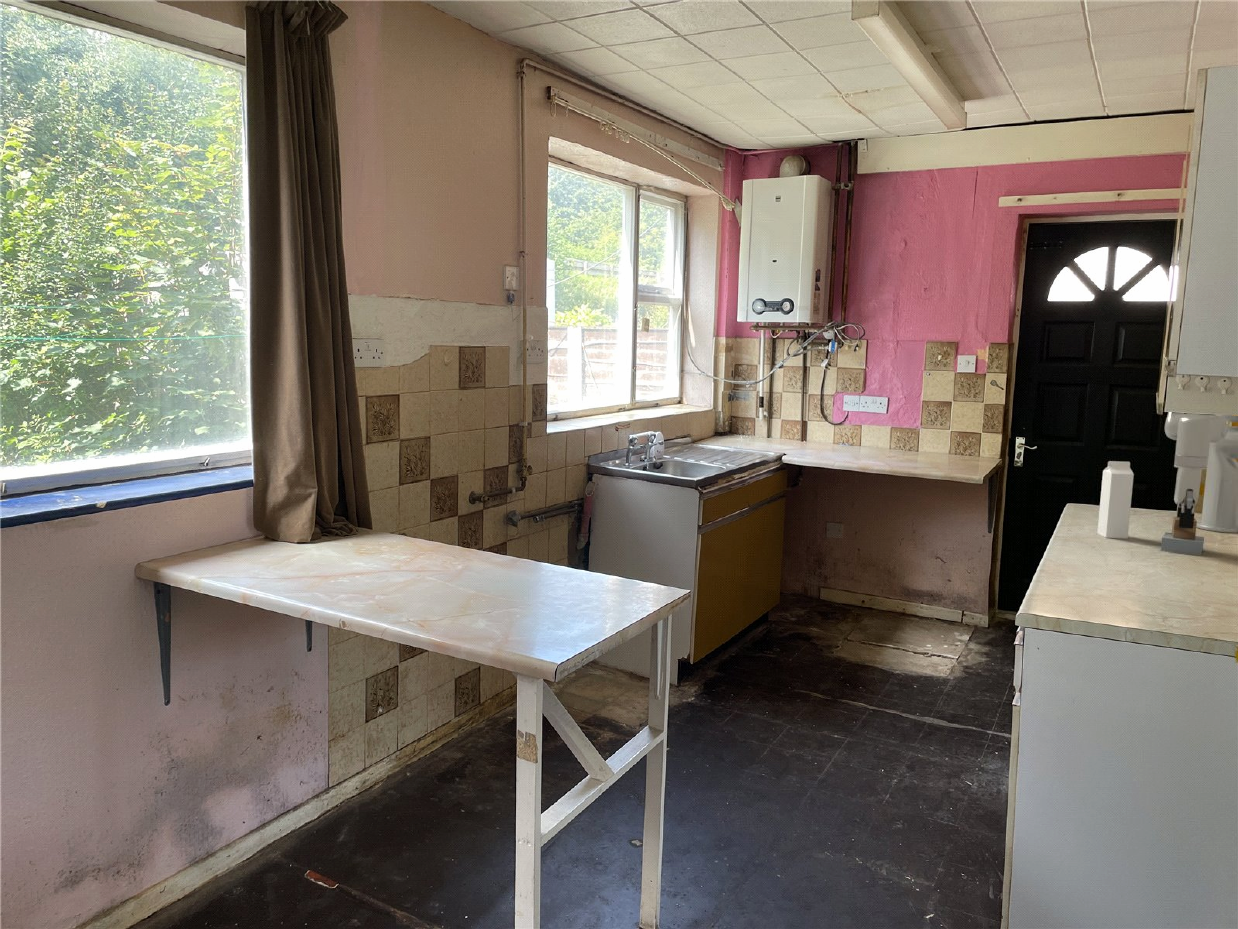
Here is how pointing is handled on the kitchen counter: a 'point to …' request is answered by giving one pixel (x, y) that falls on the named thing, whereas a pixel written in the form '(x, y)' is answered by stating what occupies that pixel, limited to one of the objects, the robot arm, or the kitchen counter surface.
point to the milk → (1115, 500)
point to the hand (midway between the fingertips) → (1184, 524)
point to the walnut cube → (1183, 530)
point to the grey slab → (1182, 544)
